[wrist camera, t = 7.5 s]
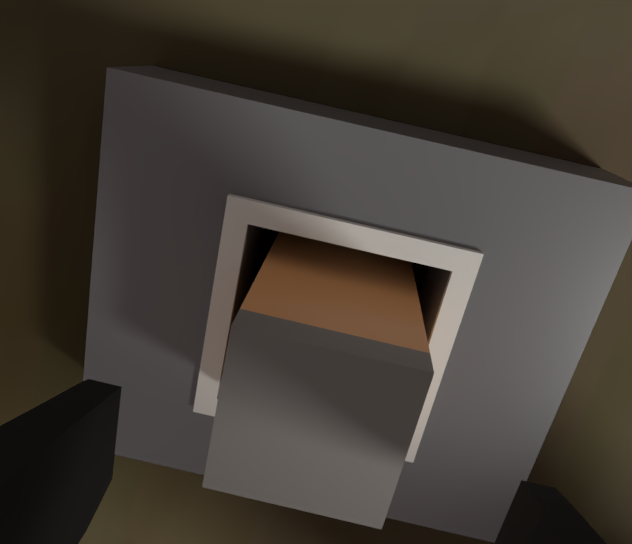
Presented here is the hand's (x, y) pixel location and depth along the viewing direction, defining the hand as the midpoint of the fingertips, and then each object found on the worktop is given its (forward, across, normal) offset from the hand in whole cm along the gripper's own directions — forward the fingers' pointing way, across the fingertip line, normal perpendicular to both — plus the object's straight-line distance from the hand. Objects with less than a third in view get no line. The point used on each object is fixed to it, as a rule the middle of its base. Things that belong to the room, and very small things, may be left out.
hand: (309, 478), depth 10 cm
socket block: (+8, 0, 0) cm, 9 cm away
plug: (+9, 0, 0) cm, 9 cm away
